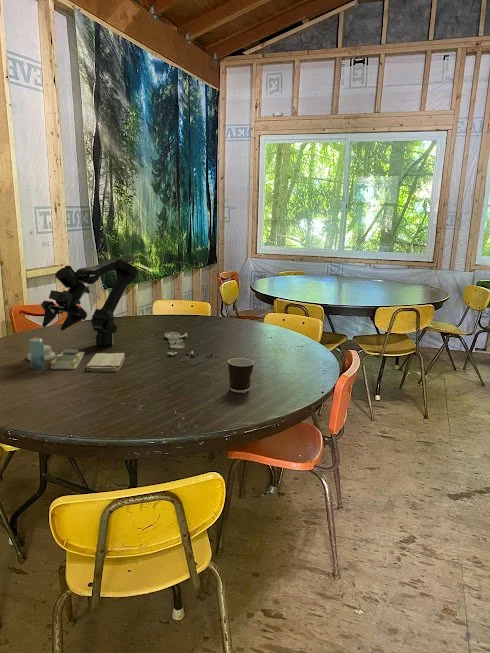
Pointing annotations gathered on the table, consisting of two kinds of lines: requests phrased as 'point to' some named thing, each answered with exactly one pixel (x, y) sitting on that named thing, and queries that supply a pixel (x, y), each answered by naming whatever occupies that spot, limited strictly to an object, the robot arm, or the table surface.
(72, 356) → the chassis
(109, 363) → the washcloth
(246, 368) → the dark brown cup
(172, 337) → the drone parts
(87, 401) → the table surface
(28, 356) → the mechanical component
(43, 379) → the table surface
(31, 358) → the cylinder
